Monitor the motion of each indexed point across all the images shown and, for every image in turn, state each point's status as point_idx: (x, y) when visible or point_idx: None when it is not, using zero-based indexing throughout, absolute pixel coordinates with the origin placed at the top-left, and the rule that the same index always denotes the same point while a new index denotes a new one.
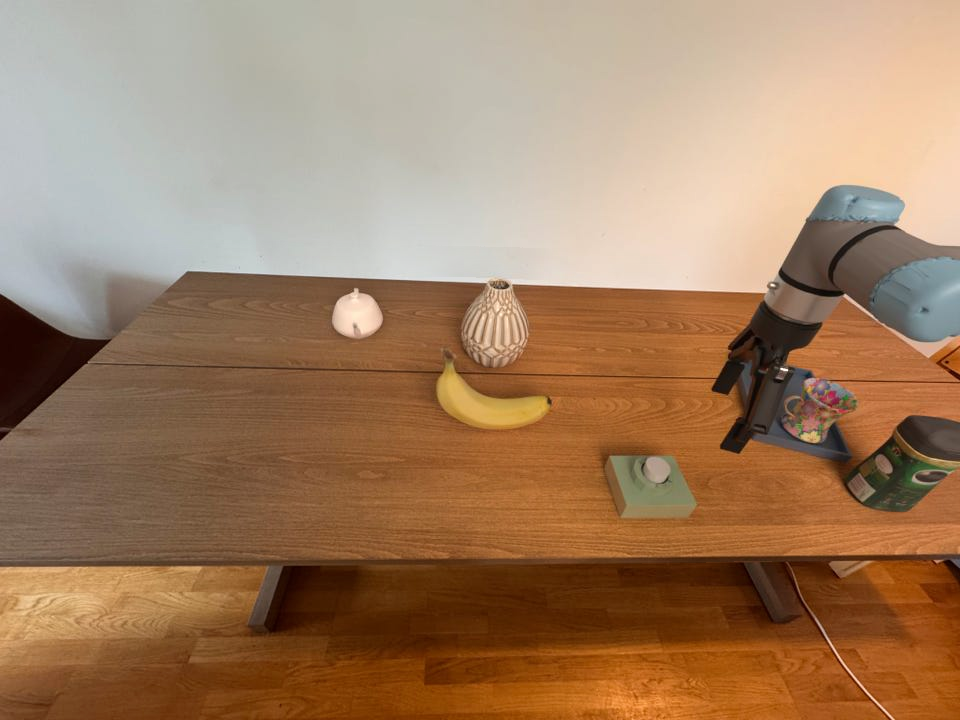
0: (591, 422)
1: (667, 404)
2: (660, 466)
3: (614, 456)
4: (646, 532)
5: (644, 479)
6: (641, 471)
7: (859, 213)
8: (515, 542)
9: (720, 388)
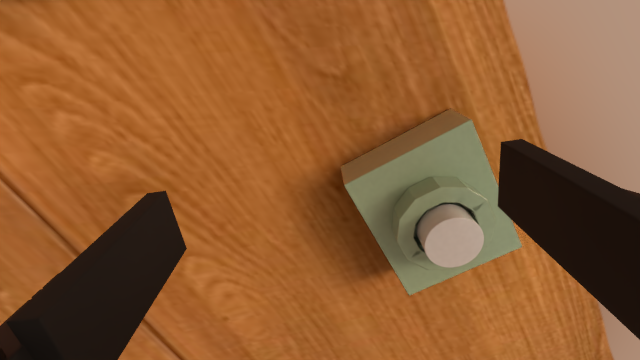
0: (294, 308)
1: (131, 189)
2: (453, 239)
3: (407, 287)
4: None
5: None
6: None
7: None
8: (585, 334)
9: (168, 241)
